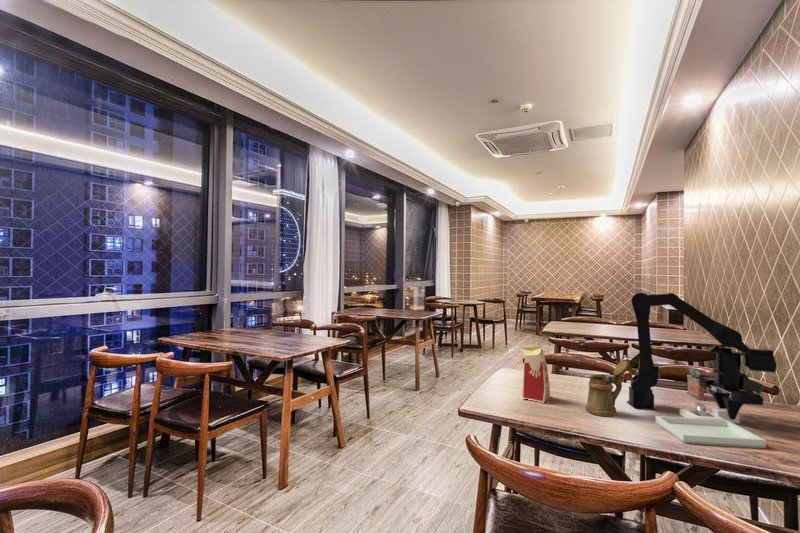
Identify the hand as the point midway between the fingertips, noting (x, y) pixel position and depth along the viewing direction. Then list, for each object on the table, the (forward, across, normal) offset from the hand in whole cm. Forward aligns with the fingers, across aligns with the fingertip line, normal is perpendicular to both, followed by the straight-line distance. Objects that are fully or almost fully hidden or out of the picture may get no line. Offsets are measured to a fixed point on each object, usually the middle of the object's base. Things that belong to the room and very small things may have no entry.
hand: (729, 417), depth 115 cm
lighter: (+1, +24, -5) cm, 25 cm away
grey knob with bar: (+1, 0, +8) cm, 8 cm away
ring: (+1, 0, +5) cm, 5 cm away
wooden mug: (+2, +2, +35) cm, 35 cm away
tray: (+1, -12, +14) cm, 18 cm away
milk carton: (+2, +13, +56) cm, 58 cm away
